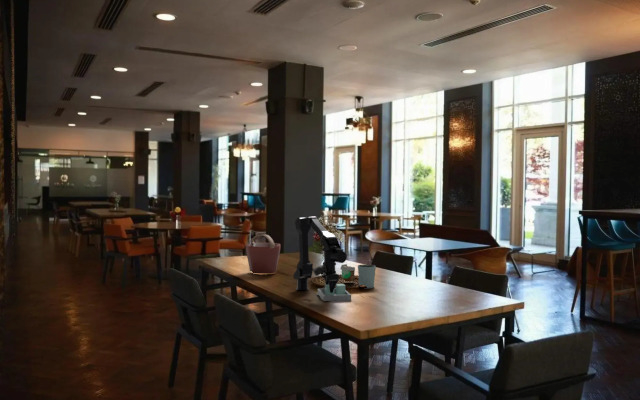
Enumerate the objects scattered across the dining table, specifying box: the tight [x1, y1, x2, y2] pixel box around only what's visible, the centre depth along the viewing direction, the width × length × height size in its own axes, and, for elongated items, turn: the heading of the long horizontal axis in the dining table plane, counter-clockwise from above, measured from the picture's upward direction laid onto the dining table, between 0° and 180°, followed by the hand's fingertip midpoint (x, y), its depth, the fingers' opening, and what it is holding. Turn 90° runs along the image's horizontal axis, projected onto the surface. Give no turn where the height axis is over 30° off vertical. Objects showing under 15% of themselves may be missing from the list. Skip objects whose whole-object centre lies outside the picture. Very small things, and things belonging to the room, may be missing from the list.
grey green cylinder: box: [357, 264, 377, 289], centre depth 288 cm, size 10×10×12 cm
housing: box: [317, 283, 352, 302], centre depth 260 cm, size 17×14×6 cm
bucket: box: [245, 234, 281, 273], centre depth 331 cm, size 24×22×25 cm
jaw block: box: [324, 284, 334, 295], centre depth 260 cm, size 4×4×6 cm
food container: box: [340, 263, 356, 282], centre depth 299 cm, size 12×6×10 cm, turn 21°
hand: (329, 290), depth 260 cm, fingers open, 9 cm apart
